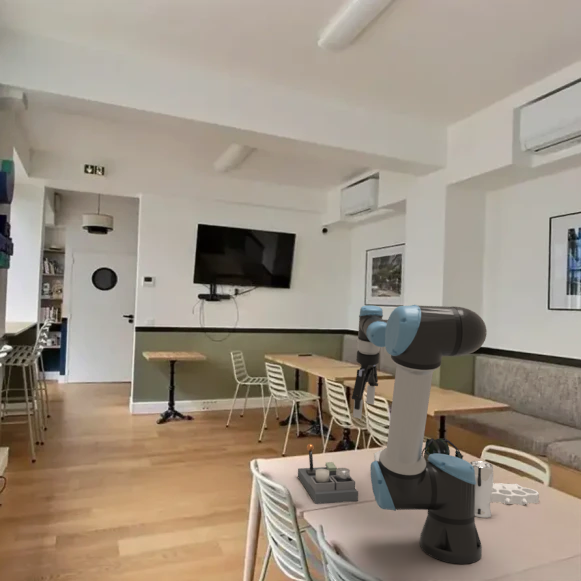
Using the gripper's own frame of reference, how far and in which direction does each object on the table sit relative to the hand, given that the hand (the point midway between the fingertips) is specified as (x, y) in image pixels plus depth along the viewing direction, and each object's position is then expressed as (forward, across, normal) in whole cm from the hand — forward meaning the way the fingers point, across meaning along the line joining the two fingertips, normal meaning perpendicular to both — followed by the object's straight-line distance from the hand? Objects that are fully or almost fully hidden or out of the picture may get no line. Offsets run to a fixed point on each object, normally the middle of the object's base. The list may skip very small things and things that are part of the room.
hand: (363, 410), depth 168 cm
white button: (+19, +18, -6) cm, 27 cm away
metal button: (+19, +14, -1) cm, 24 cm away
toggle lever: (+23, +9, -14) cm, 29 cm away
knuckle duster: (+24, -12, +48) cm, 55 cm away
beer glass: (+21, +6, +41) cm, 47 cm away
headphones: (+31, -34, +23) cm, 52 cm away
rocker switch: (+23, +5, -9) cm, 25 cm away
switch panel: (+26, +12, -8) cm, 29 cm away
